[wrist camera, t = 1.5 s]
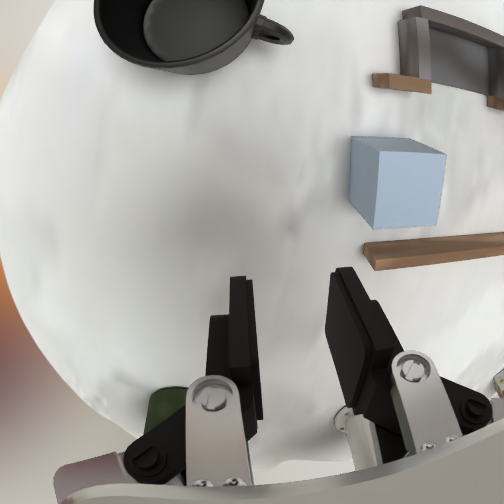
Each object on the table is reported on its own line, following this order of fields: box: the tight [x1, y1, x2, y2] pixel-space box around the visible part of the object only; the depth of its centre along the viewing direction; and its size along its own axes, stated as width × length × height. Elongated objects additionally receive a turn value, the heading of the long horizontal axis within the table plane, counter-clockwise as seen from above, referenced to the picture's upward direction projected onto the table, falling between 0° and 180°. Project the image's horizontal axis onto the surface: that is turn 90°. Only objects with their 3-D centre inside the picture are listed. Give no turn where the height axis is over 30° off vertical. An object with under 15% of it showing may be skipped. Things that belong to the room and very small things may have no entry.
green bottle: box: [144, 388, 187, 434], centre depth 31 cm, size 10×10×25 cm
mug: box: [94, 0, 294, 75], centre depth 15 cm, size 9×12×9 cm
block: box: [349, 136, 447, 230], centre depth 23 cm, size 6×6×6 cm
